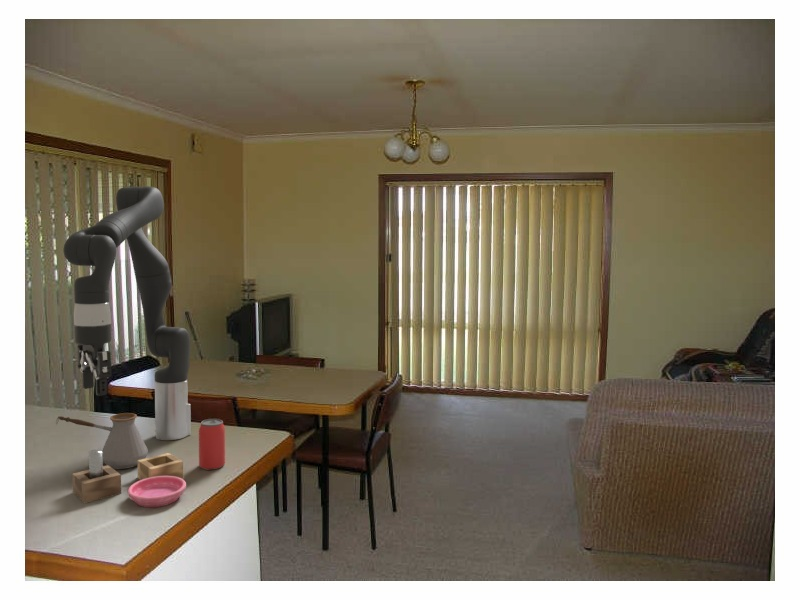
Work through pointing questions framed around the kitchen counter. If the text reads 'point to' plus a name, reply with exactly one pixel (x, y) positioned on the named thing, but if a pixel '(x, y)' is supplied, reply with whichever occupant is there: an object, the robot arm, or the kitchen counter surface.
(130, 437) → the coffee pot
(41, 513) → the kitchen counter surface
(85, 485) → the walnut block
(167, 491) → the saucer
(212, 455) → the beer can
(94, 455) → the pin
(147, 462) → the oak block
